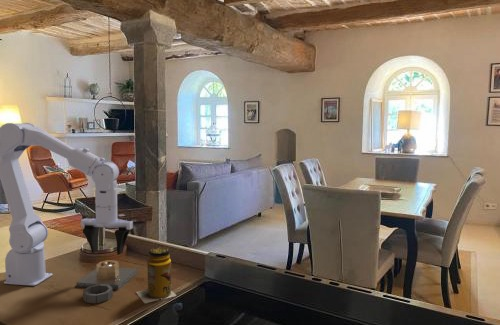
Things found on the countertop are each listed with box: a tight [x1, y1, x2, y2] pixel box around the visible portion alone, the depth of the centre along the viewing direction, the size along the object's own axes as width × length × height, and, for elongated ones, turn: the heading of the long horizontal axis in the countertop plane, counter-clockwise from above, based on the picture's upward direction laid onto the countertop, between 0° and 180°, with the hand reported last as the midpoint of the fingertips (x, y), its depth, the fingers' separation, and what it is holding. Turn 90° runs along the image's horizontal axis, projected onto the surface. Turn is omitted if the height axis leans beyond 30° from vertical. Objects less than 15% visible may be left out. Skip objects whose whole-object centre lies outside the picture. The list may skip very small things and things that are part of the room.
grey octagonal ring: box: [82, 284, 114, 304], centre depth 101 cm, size 7×7×2 cm
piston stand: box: [76, 264, 138, 291], centre depth 112 cm, size 12×12×4 cm
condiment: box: [135, 246, 177, 304], centre depth 102 cm, size 7×8×12 cm
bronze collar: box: [95, 259, 120, 280], centre depth 111 cm, size 6×6×3 cm
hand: (107, 252), depth 111 cm, fingers open, 7 cm apart
